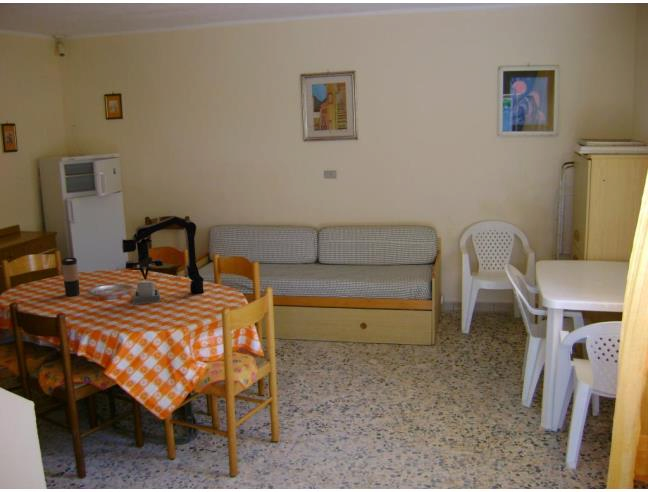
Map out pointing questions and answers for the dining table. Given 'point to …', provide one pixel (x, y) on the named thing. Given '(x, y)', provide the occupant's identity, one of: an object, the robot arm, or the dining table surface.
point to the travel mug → (70, 276)
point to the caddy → (146, 298)
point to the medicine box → (146, 288)
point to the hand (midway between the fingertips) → (145, 279)
